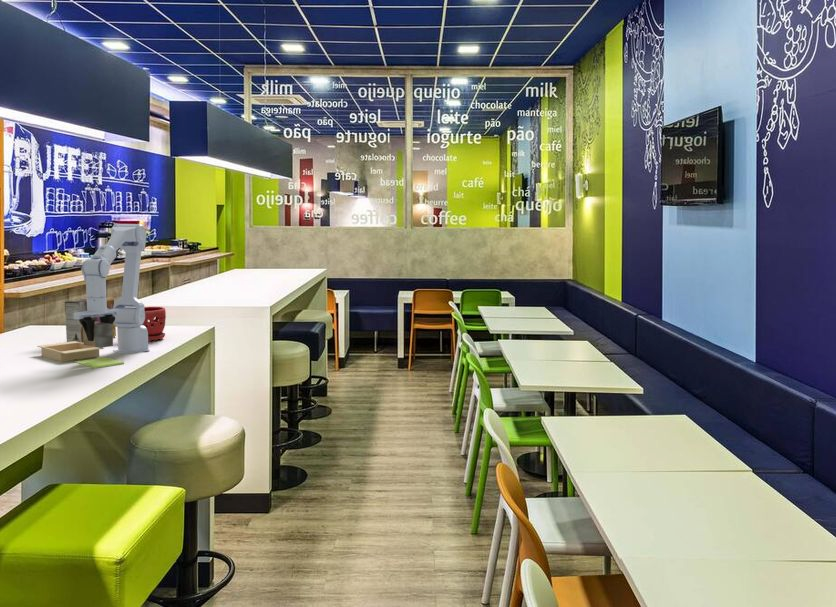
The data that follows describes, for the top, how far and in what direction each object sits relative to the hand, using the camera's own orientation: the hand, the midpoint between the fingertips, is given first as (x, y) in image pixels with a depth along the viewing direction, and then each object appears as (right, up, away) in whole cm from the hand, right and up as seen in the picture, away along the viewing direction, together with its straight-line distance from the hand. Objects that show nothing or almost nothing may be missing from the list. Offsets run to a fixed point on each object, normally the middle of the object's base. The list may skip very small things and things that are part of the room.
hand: (98, 339), depth 234 cm
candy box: (-19, -2, +48) cm, 52 cm away
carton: (-14, -6, +10) cm, 18 cm away
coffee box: (-21, -3, +36) cm, 42 cm away
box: (0, -2, 0) cm, 2 cm away
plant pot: (-1, -3, +46) cm, 46 cm away
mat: (0, -8, +1) cm, 8 cm away
